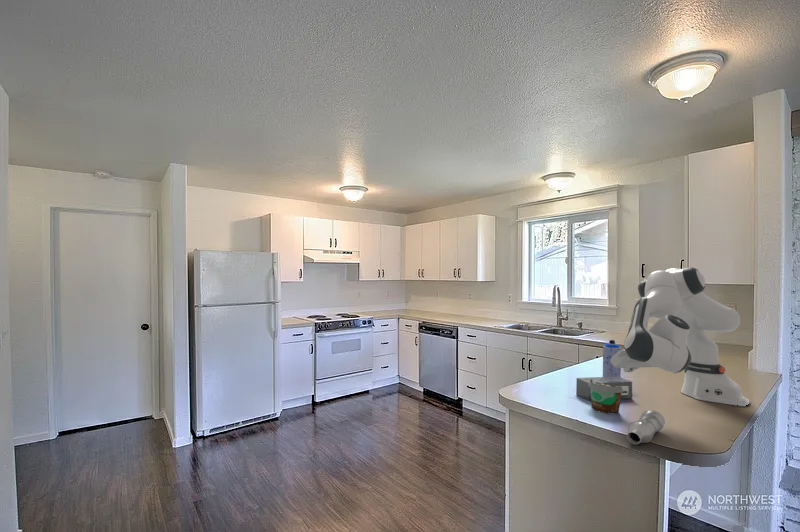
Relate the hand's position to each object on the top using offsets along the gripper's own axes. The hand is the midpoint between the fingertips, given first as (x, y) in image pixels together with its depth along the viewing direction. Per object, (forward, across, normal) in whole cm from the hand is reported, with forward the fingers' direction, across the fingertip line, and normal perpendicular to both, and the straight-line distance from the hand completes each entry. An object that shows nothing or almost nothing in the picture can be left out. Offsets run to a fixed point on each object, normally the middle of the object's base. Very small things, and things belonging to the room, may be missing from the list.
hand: (627, 370), depth 146 cm
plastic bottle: (-3, -4, -20) cm, 20 cm away
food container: (+12, -9, -10) cm, 18 cm away
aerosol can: (+34, +23, +14) cm, 44 cm away
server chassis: (+22, +4, +1) cm, 22 cm away
